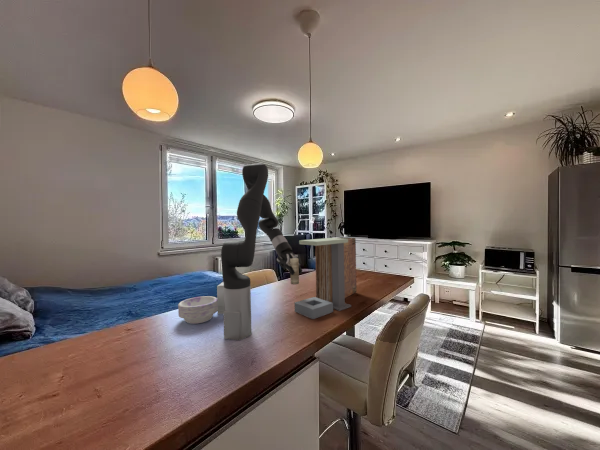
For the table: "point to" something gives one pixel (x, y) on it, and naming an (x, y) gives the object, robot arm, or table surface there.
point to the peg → (295, 270)
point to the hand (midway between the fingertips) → (297, 273)
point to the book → (325, 270)
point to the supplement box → (220, 298)
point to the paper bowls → (198, 309)
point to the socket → (313, 307)
